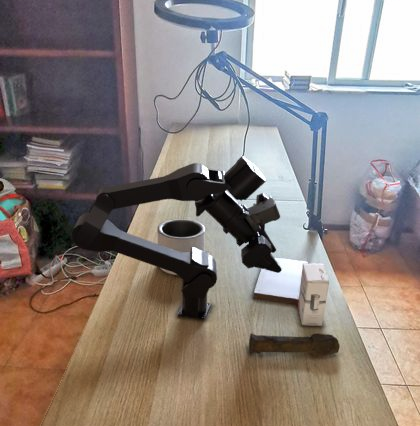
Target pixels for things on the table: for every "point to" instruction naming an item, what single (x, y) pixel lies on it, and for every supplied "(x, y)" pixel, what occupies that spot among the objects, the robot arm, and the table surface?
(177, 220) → the planter
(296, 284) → the walnut board
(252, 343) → the hand tool
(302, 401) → the table surface
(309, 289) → the ink box
